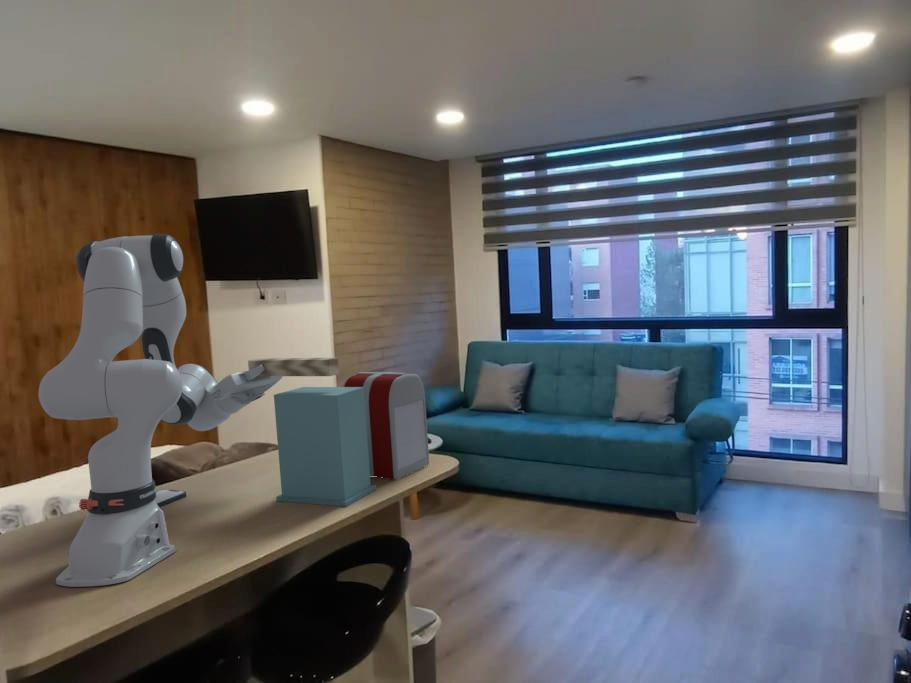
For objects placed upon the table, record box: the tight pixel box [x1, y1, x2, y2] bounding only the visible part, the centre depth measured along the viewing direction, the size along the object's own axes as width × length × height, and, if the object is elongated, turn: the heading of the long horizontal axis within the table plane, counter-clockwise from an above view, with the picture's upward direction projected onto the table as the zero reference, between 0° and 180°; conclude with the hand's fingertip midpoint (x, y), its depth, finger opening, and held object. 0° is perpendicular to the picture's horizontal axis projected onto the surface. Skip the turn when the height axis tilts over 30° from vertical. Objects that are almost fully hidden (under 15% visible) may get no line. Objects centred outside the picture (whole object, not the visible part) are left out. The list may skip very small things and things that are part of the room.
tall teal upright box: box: [273, 386, 377, 507], centre depth 174 cm, size 20×14×26 cm
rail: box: [247, 357, 340, 377], centre depth 175 cm, size 24×4×4 cm, turn 67°
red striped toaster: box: [342, 371, 430, 480], centre depth 195 cm, size 16×18×27 cm
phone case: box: [155, 489, 187, 508], centre depth 176 cm, size 9×2×16 cm
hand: (270, 365), depth 178 cm, fingers closed on rail, 4 cm apart
